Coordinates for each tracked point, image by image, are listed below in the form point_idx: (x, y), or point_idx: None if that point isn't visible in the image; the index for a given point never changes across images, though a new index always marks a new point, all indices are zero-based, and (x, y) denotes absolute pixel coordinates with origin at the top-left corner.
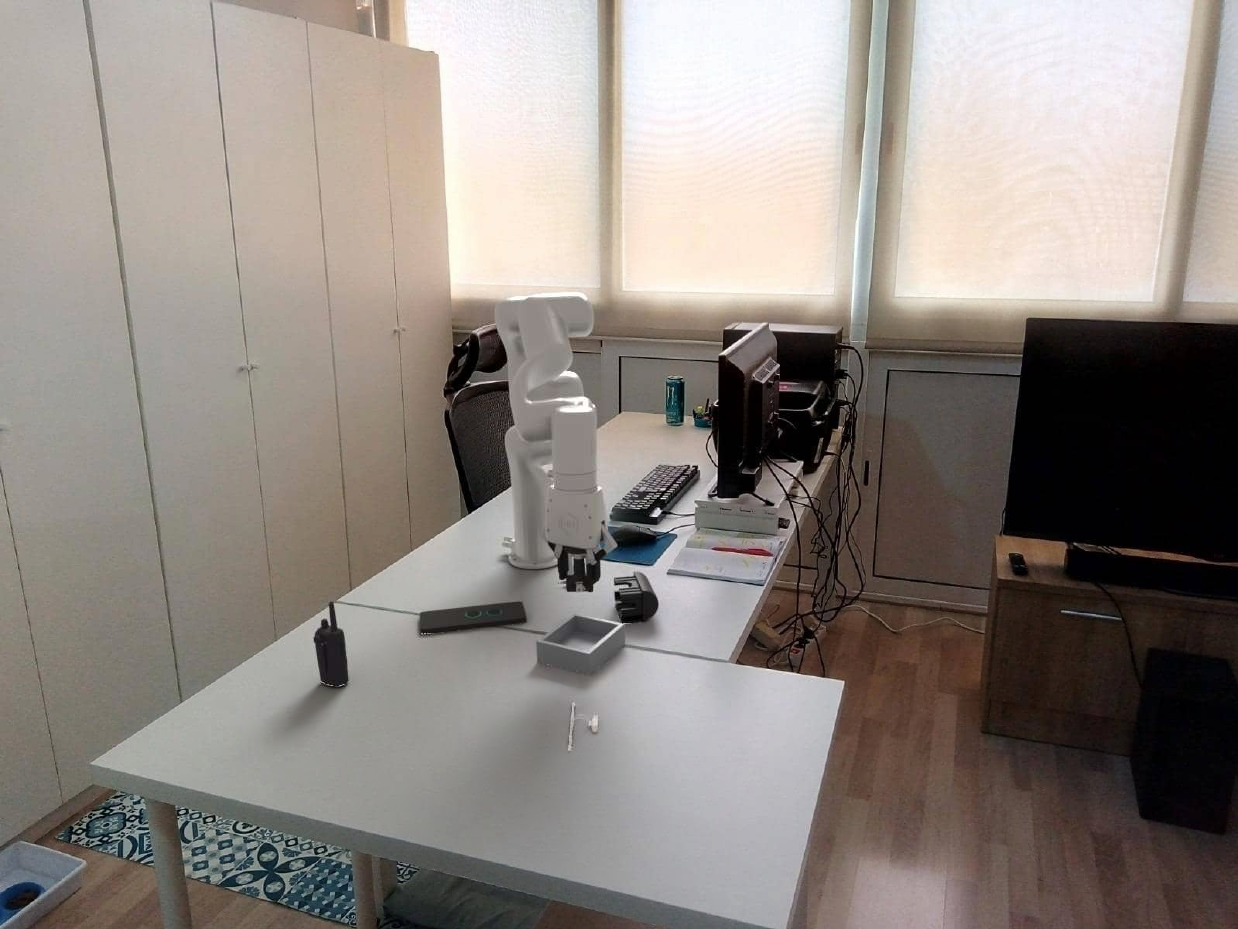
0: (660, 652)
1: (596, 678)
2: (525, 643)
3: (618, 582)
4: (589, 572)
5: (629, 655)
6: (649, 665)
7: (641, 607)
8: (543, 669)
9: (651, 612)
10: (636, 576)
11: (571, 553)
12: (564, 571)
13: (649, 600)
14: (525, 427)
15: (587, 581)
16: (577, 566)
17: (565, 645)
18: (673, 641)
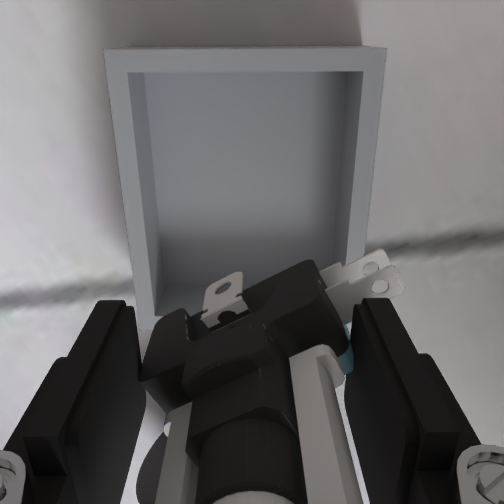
0: (31, 291)
1: (95, 39)
2: (470, 155)
3: None
4: (62, 370)
5: (100, 235)
6: (3, 206)
7: None
8: (313, 4)
9: (157, 446)
10: None
11: None
12: (366, 363)
13: (154, 479)
14: None
15: (123, 319)
16: (238, 422)
17: (310, 176)
18: (42, 359)
